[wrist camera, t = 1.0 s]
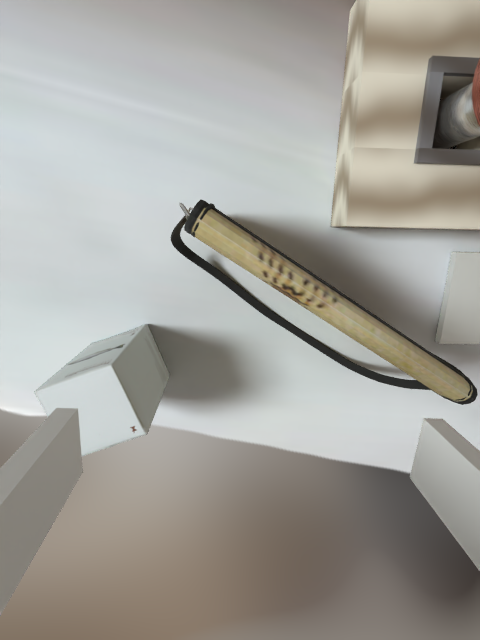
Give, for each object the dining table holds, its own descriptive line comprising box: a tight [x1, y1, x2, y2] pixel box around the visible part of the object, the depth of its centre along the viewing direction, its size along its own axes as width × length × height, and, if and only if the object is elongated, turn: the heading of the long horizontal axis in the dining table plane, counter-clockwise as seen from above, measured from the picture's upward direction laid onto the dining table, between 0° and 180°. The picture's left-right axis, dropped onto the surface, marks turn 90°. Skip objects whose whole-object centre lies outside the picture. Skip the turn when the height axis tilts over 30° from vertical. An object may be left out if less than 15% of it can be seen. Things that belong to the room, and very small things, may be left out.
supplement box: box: [34, 324, 170, 456], centre depth 34 cm, size 7×7×13 cm
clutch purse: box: [171, 200, 477, 405], centre depth 32 cm, size 30×7×15 cm, turn 57°
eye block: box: [331, 0, 480, 230], centre depth 33 cm, size 20×20×6 cm
